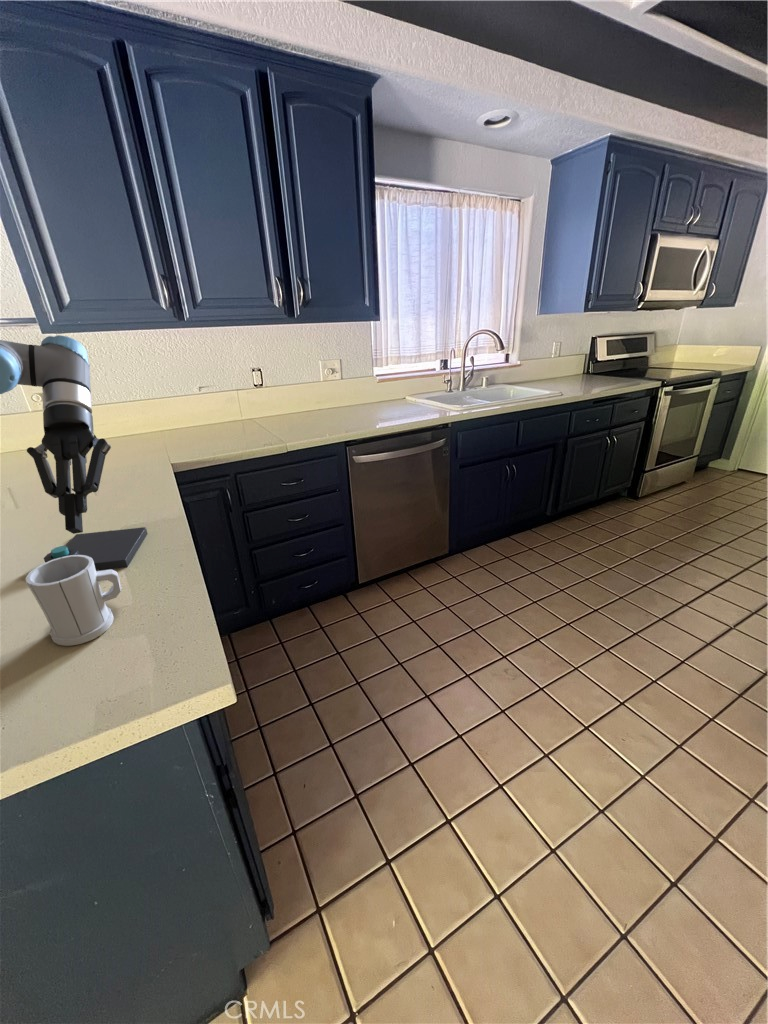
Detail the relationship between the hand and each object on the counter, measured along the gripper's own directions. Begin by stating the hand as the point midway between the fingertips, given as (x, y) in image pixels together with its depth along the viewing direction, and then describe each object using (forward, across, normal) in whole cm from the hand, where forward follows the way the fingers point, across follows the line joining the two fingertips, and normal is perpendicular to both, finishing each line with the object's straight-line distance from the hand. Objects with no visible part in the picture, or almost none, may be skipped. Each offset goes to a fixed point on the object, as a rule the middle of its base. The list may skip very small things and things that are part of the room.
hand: (74, 530), depth 74 cm
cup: (+17, 0, -3) cm, 17 cm away
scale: (-2, +4, -22) cm, 23 cm away
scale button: (-1, +10, -17) cm, 19 cm away
